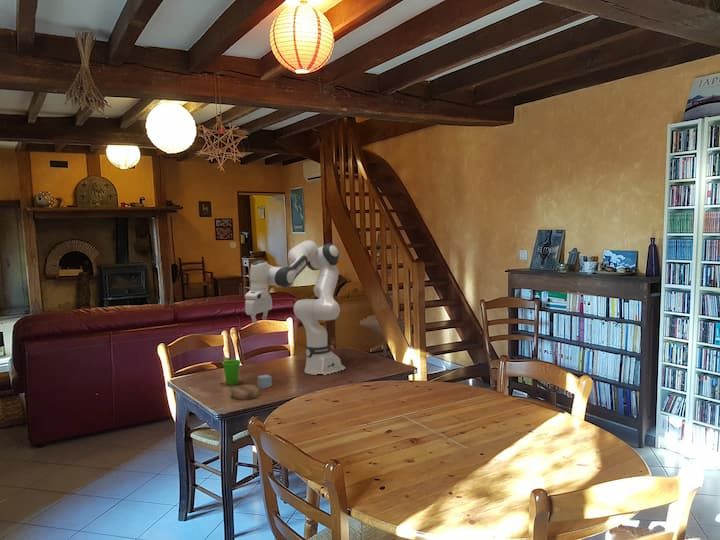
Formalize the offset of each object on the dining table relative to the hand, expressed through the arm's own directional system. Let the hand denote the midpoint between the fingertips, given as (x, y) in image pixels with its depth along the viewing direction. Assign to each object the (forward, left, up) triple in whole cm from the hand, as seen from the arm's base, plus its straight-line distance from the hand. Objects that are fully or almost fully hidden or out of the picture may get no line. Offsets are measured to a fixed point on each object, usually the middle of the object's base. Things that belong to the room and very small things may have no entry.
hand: (259, 321), depth 251 cm
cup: (+12, -8, -31) cm, 34 cm away
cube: (+1, +6, -31) cm, 32 cm away
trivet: (+14, +13, -31) cm, 36 cm away
